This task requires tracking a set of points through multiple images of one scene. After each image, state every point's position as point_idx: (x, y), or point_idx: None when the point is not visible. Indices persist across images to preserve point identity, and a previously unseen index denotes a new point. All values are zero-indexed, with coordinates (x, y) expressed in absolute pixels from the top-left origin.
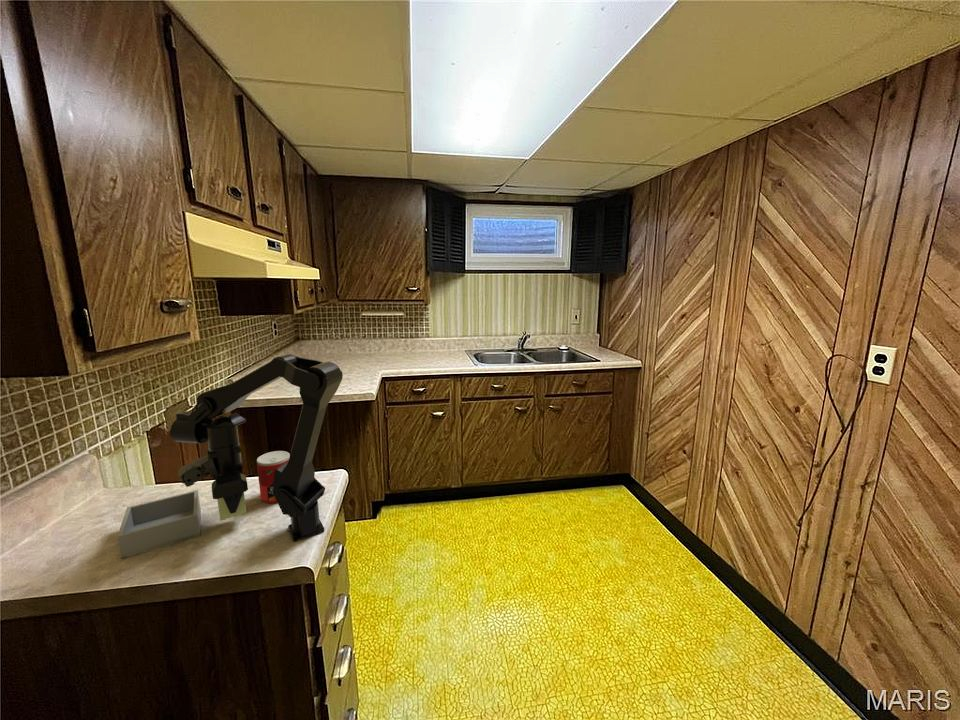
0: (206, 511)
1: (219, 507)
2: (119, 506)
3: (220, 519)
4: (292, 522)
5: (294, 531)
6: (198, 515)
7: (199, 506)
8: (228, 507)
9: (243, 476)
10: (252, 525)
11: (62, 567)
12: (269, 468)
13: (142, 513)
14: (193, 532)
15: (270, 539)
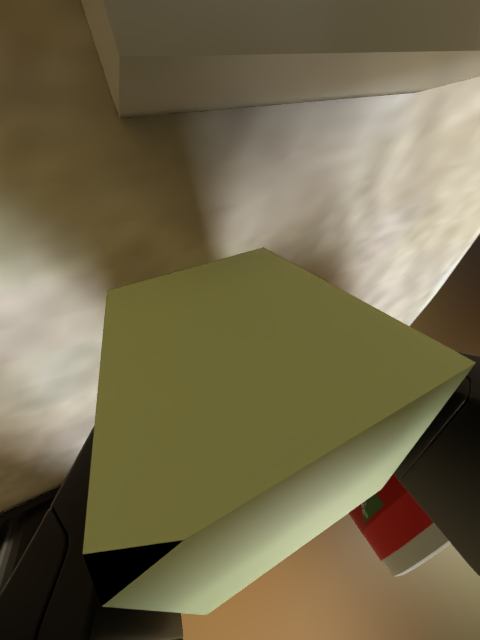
0: (370, 131)
1: (104, 371)
2: None
3: (108, 296)
4: (7, 579)
5: (13, 535)
6: (250, 81)
7: (416, 83)
8: (93, 434)
9: None
10: None
11: None
12: (384, 527)
13: None
14: (97, 46)
15: (7, 459)
